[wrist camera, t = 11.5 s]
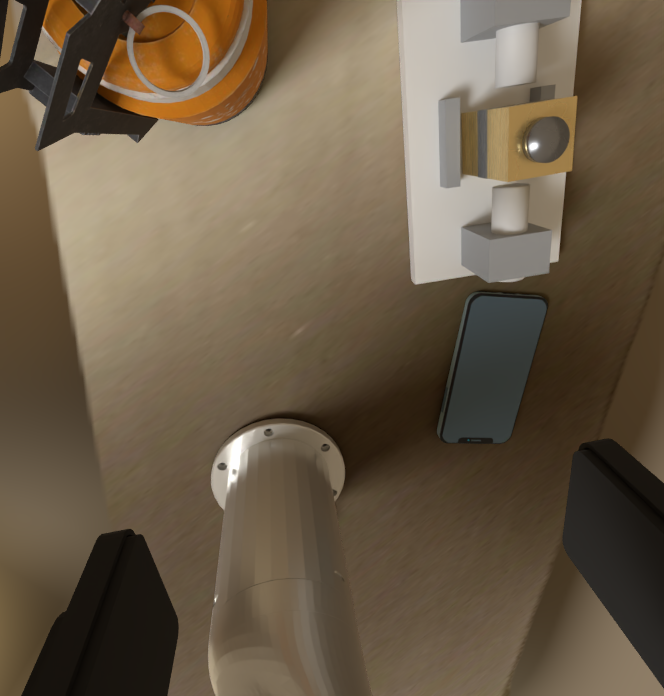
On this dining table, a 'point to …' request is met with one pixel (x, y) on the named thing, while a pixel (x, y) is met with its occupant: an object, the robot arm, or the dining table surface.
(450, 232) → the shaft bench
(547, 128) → the block
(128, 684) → the robot arm
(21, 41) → the canister
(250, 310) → the dining table surface
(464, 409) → the smartphone
